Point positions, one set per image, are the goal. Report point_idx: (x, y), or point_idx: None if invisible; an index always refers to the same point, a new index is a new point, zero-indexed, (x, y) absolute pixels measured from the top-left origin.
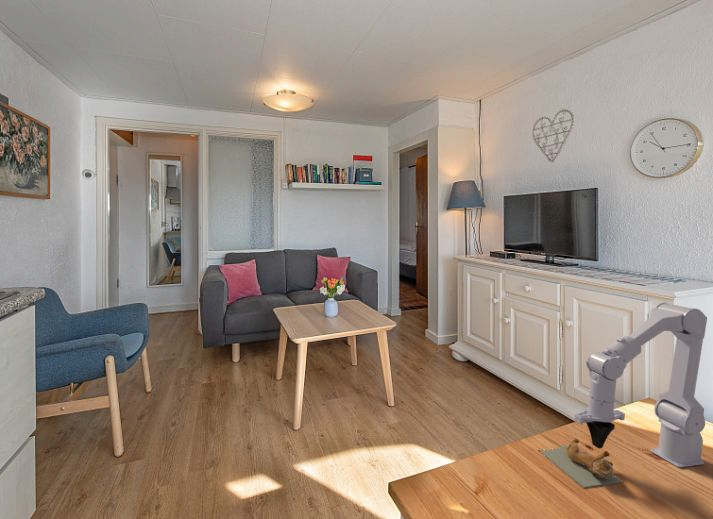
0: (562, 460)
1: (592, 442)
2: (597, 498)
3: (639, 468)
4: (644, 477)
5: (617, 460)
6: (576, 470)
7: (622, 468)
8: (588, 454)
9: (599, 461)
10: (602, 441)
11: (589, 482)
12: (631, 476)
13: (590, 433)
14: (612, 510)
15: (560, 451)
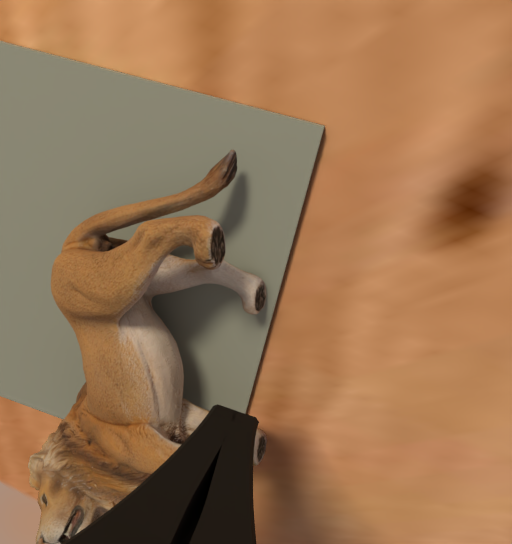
0: (48, 227)
1: (203, 420)
2: (14, 440)
3: (484, 499)
4: (395, 525)
5: (456, 404)
6: (59, 322)
7: (374, 445)
8: (136, 382)
9: (75, 484)
10: (190, 539)
11: (50, 397)
12: (333, 487)
13: (150, 478)
14: (20, 485)
15: (122, 145)
